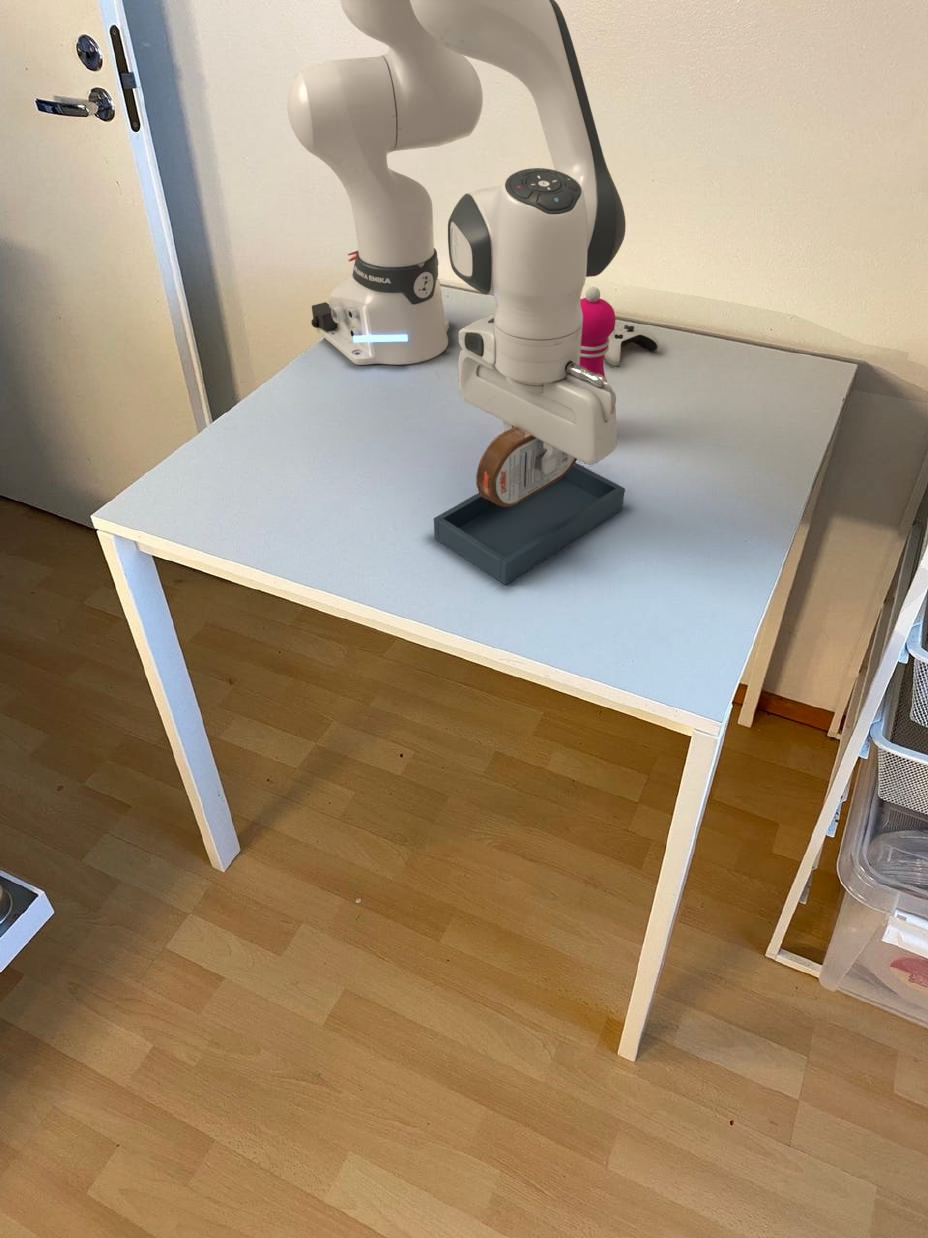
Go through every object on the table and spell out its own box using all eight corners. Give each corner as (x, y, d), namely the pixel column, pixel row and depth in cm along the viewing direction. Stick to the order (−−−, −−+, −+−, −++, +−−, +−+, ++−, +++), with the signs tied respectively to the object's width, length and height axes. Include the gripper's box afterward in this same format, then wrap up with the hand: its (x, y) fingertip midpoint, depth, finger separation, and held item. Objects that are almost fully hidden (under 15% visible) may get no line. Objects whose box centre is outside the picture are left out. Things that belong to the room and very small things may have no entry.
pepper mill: (546, 439, 121) (553, 293, 108) (567, 414, 126) (577, 271, 112) (596, 452, 119) (611, 304, 105) (616, 426, 123) (632, 281, 110)
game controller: (617, 364, 134) (599, 327, 134) (597, 378, 139) (580, 342, 139) (663, 345, 138) (646, 309, 138) (642, 359, 143) (626, 324, 143)
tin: (566, 459, 109) (567, 394, 103) (586, 468, 107) (588, 402, 102) (475, 511, 101) (471, 444, 96) (495, 522, 100) (492, 454, 94)
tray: (434, 538, 106) (433, 518, 104) (551, 470, 116) (552, 450, 114) (505, 585, 100) (505, 564, 98) (622, 508, 110) (625, 488, 108)
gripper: (637, 371, 89) (622, 489, 98) (489, 308, 100) (489, 419, 109) (594, 394, 86) (584, 514, 95) (447, 326, 97) (450, 439, 106)
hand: (532, 463), depth 102 cm, fingers closed on tin, 2 cm apart
